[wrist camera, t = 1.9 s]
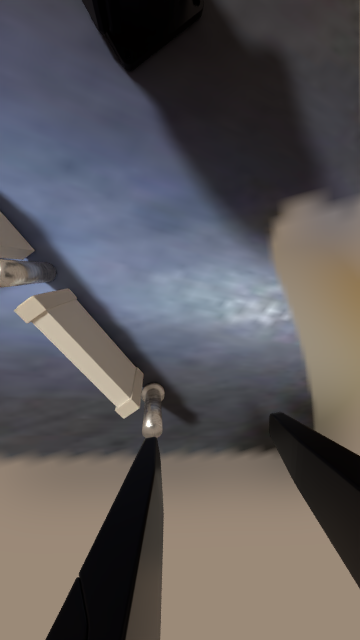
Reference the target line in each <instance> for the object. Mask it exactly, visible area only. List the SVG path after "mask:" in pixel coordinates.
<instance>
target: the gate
mask: <svg viewBox="0 0 360 640" xmlns="http://www.w3.org/2000/svg"><path fill="white" fill-rule="evenodd" d="M76 299H77V297H76V296H75V295H74V294H73V293H72V291H71V290H70V289H67V288H66V289H62V290H57V291H52V292H48V293H43V294H38V295H34V296H31V297H30V298H29V299H27V300H26V301H25V302H23V303H22V304H20V305H19V306H18V307H17V309H15V310H14V311H15V312H16V313H17V314H18V315H19V316H20V317H21V318H22V319H23V320H24V321H25V322H26V323H29V322H32V323H33V324H34V325H35V326H36V327H37V328H38V329H39V330H40V331H41V332H42V333H43V334H44V335H45V336H46V337H47V338H48V339H49V340H50V341H51V342H52V343H53V344H54V345H55V346H56V347H57V348H58V349H59V350H60V351H61V352H62V353H63V354H64V355H65V356H66V357H67V358H68V359H69V360H70V361H71V362H72V363H73V364H74V365H75V366H76V367H77V368H78V369H79V370H80V371H81V372H82V373H83V374H84V375H85V376H86V377H87V378H88V379H89V380H90V381H91V382H92V383H93V384H94V385H95V386H96V387H97V388H98V389H99V390H100V391H101V392H102V393H103V394H104V395H105V396H106V397H107V398H108V399H109V400H110V401H111V402H112V403H113V404H114V405H115V406H116V409H115V411H116V412H117V413H118V414H119V415H120V416H121V417H122V418H123V419H124V418H126V417H127V416H129V415H130V414H132V413H133V412H135V411H136V410H138V409H139V408H140V402H141V393H142V384H143V375H144V374H143V373H142V372H141V370H140V369H139V368H138V367H135V366H134V365H133V364H132V362H131V361H130V360H129V359H128V358H127V357H126V356H125V354H124V353H123V352H122V351H121V350H120V349H119V348H118V346H117V345H116V344H115V343H114V342H113V341H112V340H111V338H110V337H109V336H108V335H107V334H106V333H105V332H104V330H103V329H102V328H101V327H100V326H99V325H98V324H97V322H96V321H95V320H94V319H93V318H92V317H91V316H90V315H89V313H88V312H87V311H86V310H85V309H84V308H83V307H82V305H81V304H80V303H79V302H78V301H77V300H76Z"/></svg>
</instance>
